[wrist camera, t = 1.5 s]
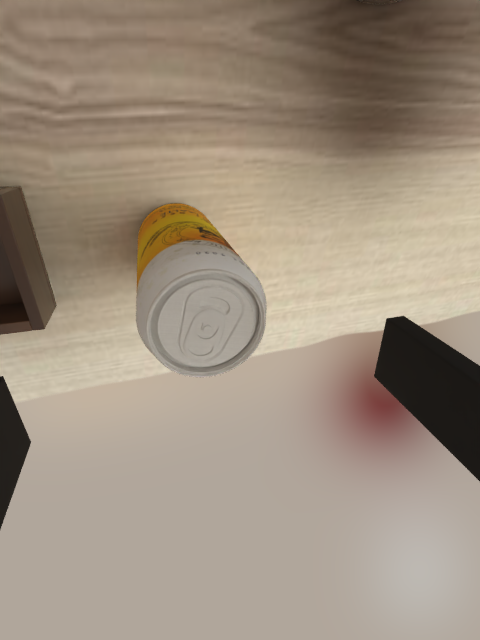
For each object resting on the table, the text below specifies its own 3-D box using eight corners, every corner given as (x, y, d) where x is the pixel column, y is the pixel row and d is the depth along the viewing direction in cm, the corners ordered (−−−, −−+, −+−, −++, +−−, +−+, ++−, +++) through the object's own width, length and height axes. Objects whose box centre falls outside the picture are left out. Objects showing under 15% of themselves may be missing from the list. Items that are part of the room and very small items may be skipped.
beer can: (223, 216, 28) (295, 283, 15) (200, 283, 30) (245, 392, 17) (149, 190, 25) (158, 241, 13) (129, 264, 27) (120, 373, 15)
